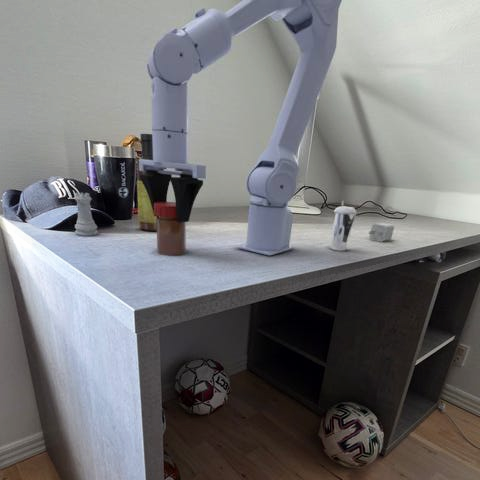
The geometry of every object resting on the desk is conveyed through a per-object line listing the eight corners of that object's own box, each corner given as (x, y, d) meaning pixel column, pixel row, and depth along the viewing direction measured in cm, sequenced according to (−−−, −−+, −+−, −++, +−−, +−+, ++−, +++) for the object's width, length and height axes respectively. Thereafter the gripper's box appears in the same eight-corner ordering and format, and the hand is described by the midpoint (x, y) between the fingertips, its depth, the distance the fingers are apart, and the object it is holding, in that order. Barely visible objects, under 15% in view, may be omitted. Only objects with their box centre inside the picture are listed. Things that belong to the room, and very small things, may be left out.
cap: (194, 216, 62) (195, 205, 61) (168, 218, 57) (168, 207, 57) (173, 211, 65) (173, 201, 64) (147, 213, 61) (146, 202, 60)
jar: (169, 246, 67) (169, 206, 64) (191, 251, 65) (191, 209, 62) (151, 251, 63) (149, 208, 60) (173, 256, 61) (173, 212, 58)
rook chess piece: (76, 231, 73) (71, 191, 70) (99, 231, 74) (95, 192, 71) (73, 236, 69) (68, 194, 66) (97, 236, 71) (93, 195, 67)
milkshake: (343, 246, 79) (353, 201, 75) (351, 252, 75) (361, 204, 70) (324, 245, 79) (332, 199, 75) (330, 250, 74) (339, 202, 70)
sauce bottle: (163, 232, 79) (161, 134, 70) (135, 230, 78) (130, 131, 70) (169, 227, 84) (167, 136, 76) (143, 225, 84) (139, 134, 76)
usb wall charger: (390, 240, 91) (394, 225, 89) (378, 242, 87) (382, 226, 85) (376, 237, 94) (380, 222, 92) (363, 239, 89) (367, 223, 88)
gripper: (122, 128, 57) (127, 213, 62) (182, 130, 49) (182, 227, 55) (156, 133, 62) (158, 211, 68) (216, 135, 54) (212, 224, 60)
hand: (170, 218), depth 61 cm, fingers closed on cap, 6 cm apart
